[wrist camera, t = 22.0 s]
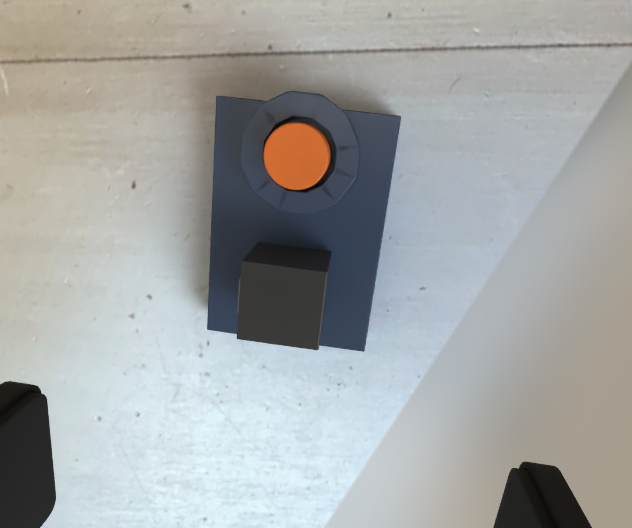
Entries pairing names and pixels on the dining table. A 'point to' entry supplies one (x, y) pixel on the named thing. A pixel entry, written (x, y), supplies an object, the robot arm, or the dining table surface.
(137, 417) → the dining table surface
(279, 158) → the power button
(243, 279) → the block
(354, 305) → the button base
